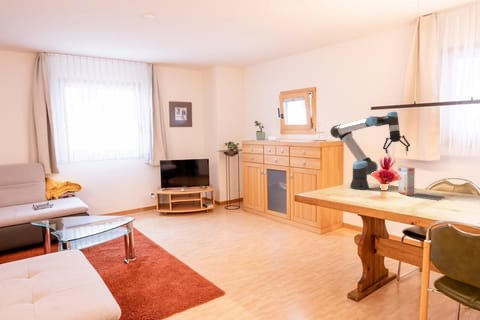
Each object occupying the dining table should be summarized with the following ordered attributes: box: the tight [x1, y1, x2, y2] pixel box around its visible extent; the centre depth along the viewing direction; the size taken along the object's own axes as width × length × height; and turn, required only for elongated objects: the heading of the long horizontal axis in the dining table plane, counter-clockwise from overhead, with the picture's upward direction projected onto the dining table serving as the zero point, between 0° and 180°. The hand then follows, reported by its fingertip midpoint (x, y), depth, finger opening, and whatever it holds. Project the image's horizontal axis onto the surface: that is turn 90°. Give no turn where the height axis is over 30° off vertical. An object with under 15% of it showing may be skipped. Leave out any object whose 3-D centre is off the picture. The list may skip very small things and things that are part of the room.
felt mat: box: [408, 192, 445, 201], centre depth 235 cm, size 19×16×1 cm
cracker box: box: [397, 166, 416, 196], centre depth 245 cm, size 14×6×21 cm, turn 179°
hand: (397, 156), depth 259 cm, fingers open, 13 cm apart
